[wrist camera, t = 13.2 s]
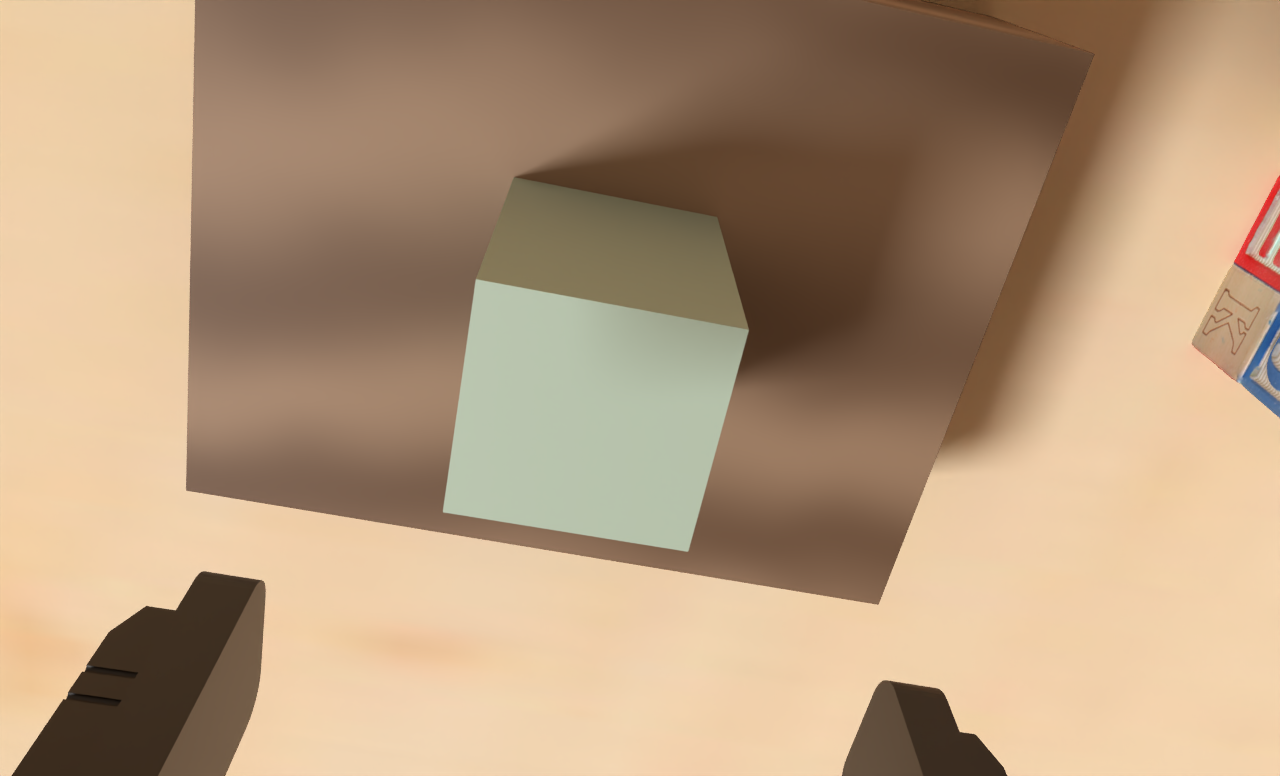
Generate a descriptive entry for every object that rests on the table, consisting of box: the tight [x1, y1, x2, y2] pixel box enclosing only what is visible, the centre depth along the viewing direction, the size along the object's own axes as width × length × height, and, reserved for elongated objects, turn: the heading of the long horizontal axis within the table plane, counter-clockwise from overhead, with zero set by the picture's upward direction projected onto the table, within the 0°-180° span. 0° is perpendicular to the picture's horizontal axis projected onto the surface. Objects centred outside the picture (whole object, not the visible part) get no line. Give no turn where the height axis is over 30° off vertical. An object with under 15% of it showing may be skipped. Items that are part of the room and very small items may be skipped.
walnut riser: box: [186, 0, 1094, 604], centre depth 29 cm, size 16×20×7 cm
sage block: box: [443, 177, 749, 552], centre depth 23 cm, size 5×5×7 cm
